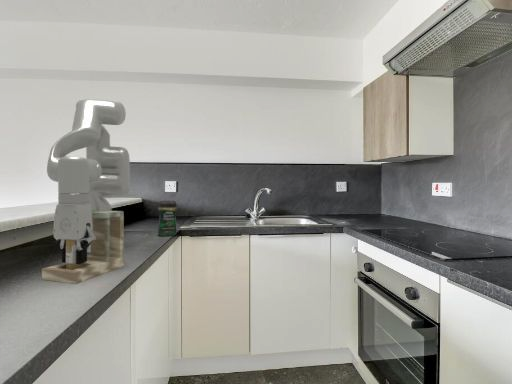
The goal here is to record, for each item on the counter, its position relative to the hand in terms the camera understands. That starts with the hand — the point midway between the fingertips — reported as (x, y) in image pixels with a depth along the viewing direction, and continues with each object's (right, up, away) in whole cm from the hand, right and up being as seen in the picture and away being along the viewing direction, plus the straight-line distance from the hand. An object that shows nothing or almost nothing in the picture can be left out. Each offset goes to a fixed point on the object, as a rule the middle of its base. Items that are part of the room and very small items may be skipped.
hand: (74, 261), depth 84 cm
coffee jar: (+6, -3, +70) cm, 71 cm away
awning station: (+1, -4, +5) cm, 6 cm away
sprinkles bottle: (0, -4, 0) cm, 4 cm away
